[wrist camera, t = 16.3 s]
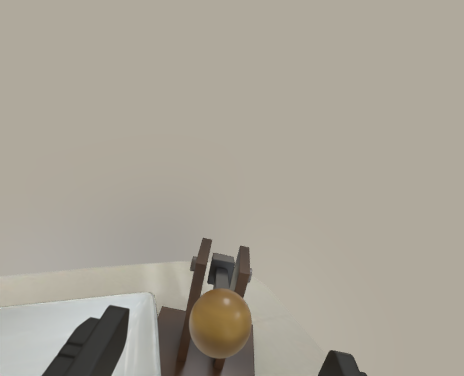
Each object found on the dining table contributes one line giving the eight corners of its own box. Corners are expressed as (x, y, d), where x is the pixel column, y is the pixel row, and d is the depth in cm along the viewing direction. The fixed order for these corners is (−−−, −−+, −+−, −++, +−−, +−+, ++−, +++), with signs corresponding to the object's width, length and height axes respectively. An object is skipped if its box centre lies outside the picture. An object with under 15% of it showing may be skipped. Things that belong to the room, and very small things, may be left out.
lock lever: (247, 380, 13) (261, 310, 14) (178, 366, 13) (193, 296, 13) (234, 286, 28) (241, 252, 28) (200, 279, 27) (208, 245, 28)
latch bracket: (252, 407, 26) (292, 300, 22) (133, 384, 26) (148, 271, 21) (250, 331, 35) (278, 242, 30) (161, 313, 34) (175, 220, 30)
